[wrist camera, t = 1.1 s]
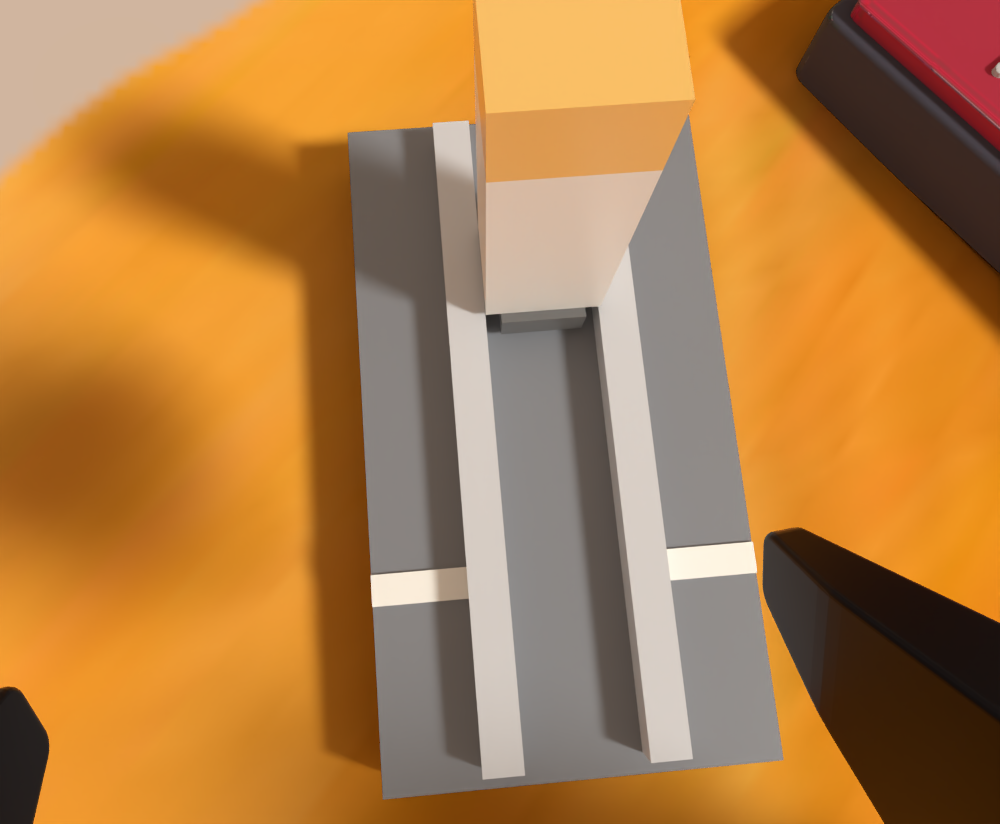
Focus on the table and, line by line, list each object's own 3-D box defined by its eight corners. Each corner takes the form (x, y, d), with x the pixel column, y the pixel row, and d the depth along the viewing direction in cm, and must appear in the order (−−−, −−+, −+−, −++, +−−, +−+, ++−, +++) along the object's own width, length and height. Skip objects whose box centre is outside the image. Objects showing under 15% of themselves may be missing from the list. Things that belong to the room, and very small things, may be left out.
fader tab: (595, 327, 20) (697, 115, 11) (486, 335, 20) (487, 129, 11) (584, 224, 21) (670, -67, 11) (477, 232, 21) (470, -54, 11)
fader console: (755, 740, 21) (799, 771, 18) (392, 776, 20) (377, 813, 17) (671, 146, 24) (697, 89, 21) (359, 167, 24) (341, 112, 21)
